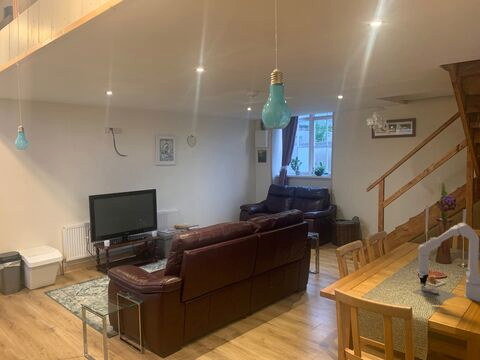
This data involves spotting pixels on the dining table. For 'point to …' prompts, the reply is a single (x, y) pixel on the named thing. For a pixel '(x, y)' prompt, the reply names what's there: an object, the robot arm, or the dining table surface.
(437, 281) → the tray
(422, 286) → the crank
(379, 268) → the dining table surface
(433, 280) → the block
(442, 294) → the crank base
